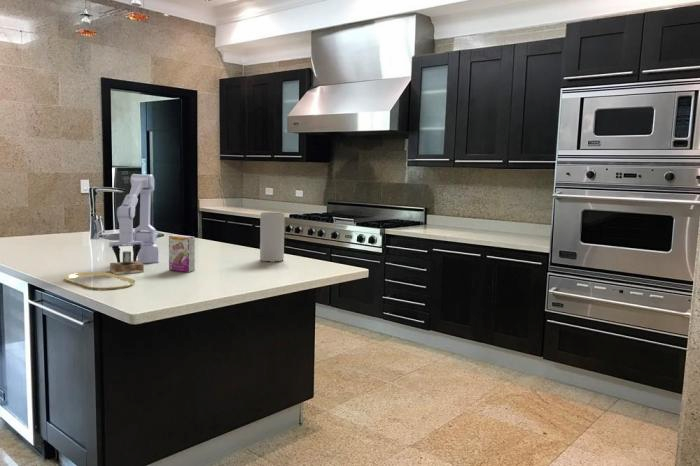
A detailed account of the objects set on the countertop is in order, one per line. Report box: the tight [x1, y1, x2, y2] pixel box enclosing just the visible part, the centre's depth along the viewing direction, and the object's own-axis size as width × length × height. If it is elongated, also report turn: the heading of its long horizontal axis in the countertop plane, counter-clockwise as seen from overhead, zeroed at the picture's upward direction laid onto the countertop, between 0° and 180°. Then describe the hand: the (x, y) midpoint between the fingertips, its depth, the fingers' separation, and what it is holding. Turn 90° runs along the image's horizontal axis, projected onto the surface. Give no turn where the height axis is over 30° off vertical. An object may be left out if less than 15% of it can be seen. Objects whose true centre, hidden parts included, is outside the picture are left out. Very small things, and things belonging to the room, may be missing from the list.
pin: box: [122, 250, 132, 265], centre depth 250 cm, size 4×4×8 cm
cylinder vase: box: [259, 211, 285, 263], centre depth 289 cm, size 12×12×25 cm
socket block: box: [109, 260, 145, 275], centre depth 250 cm, size 12×10×4 cm
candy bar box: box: [168, 234, 196, 273], centre depth 254 cm, size 11×5×16 cm, turn 71°
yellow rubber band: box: [64, 271, 136, 290], centre depth 227 cm, size 19×35×2 cm, turn 53°
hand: (126, 261), depth 250 cm, fingers open, 6 cm apart
